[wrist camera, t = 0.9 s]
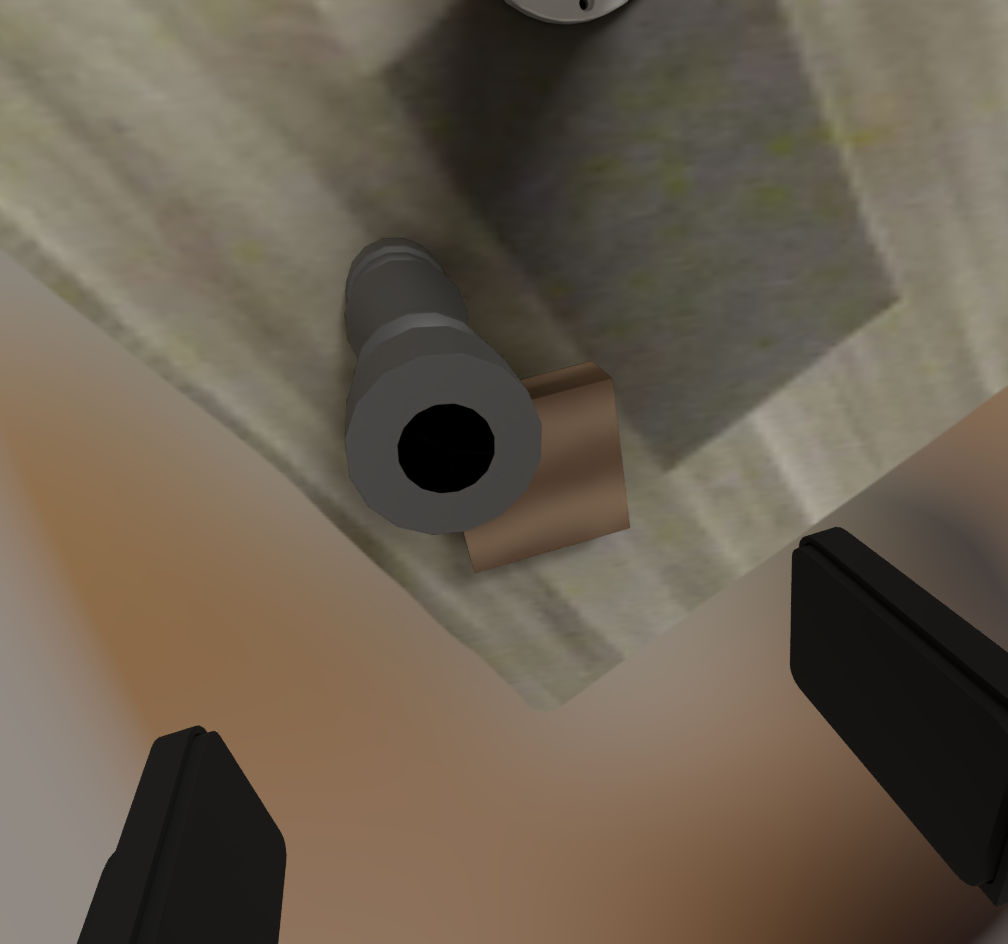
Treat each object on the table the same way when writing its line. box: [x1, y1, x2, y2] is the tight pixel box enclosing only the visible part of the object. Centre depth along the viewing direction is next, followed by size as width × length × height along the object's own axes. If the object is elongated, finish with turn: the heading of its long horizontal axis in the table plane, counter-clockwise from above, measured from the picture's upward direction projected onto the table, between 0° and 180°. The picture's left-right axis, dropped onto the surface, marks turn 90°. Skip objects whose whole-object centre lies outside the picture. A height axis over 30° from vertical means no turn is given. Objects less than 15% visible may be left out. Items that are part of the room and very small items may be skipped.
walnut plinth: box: [463, 361, 630, 573], centre depth 45 cm, size 12×12×4 cm
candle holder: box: [345, 238, 542, 535], centre depth 29 cm, size 6×6×25 cm
